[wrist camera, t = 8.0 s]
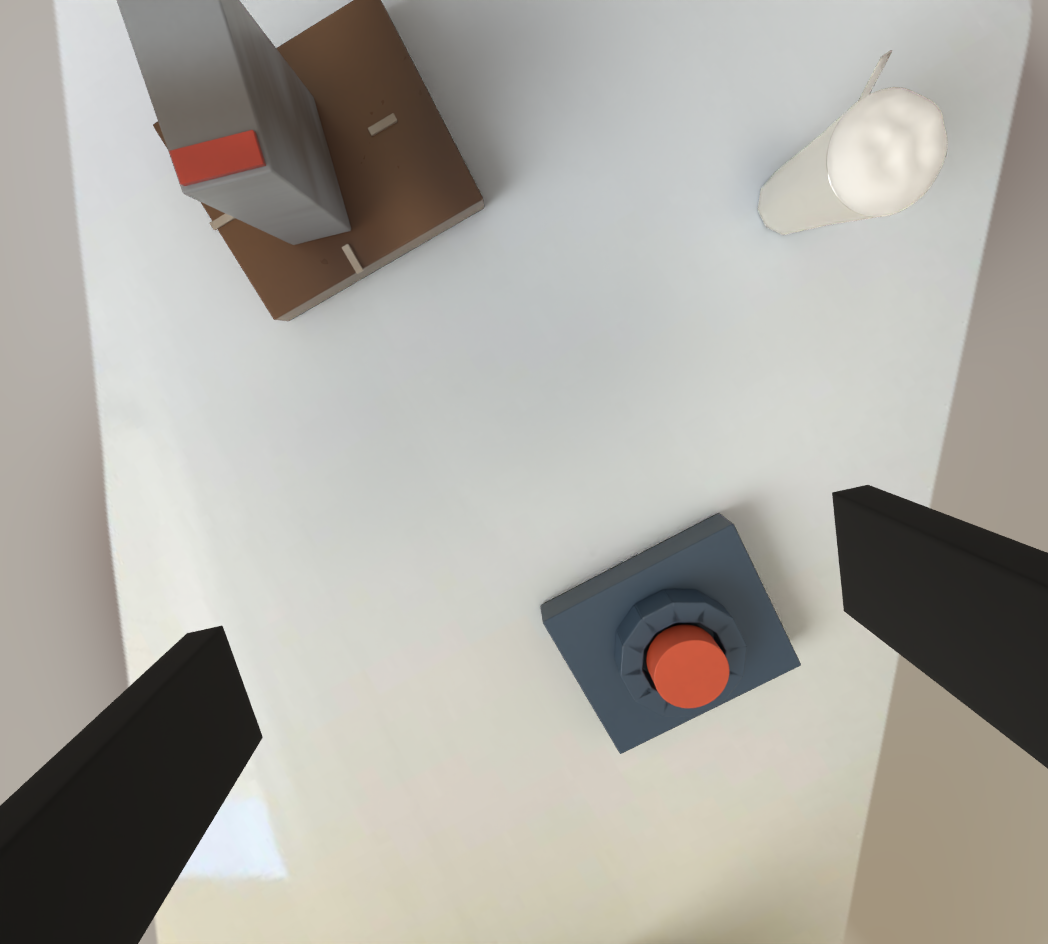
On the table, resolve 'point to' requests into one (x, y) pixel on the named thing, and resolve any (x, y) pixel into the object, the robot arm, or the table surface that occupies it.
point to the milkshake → (860, 163)
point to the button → (687, 666)
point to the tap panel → (360, 164)
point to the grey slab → (236, 117)
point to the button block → (660, 603)
